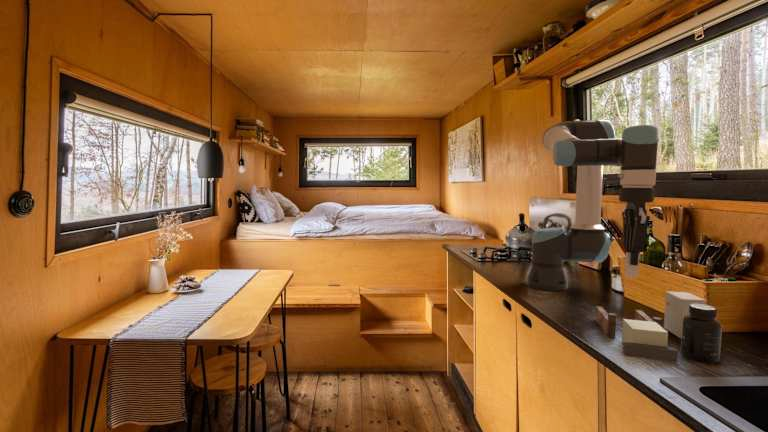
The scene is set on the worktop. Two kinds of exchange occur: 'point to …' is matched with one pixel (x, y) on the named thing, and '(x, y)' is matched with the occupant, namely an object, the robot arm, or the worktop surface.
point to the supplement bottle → (701, 334)
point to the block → (644, 333)
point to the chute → (609, 320)
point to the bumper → (650, 351)
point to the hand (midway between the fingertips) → (631, 276)
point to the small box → (678, 310)
